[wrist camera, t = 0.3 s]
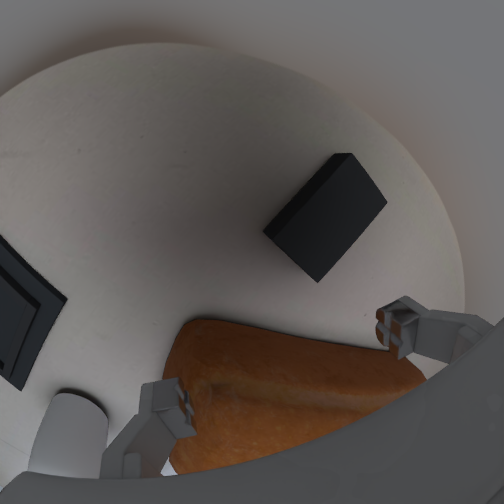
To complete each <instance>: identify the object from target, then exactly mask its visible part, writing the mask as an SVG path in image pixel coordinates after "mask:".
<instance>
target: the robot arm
mask: <svg viewBox="0 0 504 504" xmlns="http://www.w3.org/2000/svg"><path fill="white" fill-rule="evenodd" d="M376 318H377V319H378V320H379V321H378V323H377V325H376V335H377V338H378V340H379V342H380V343H381V344H382V345H383V346H387V347H389V352H390V353H392V354H393V355H394V356H395V357H396V358H397V359H398V360H399V359H401V358H403V357H405V356H407V355H408V354H410V353H412V352H414V353H417V354H420V355H423V356H426V357H429V358H432V359H435V360H438V361H442V362H445V363H448V364H449V365H448V366H446V367H445V368H444V369H442V370H441V371H439V372H438V373H437V374H435V375H434V376H432V377H431V378H429V379H428V380H426V381H425V382H423V383H422V384H420V385H419V386H417V387H416V388H414V389H413V390H411V391H409V392H408V393H406V394H405V395H403V396H401V397H400V398H398V399H396V400H395V401H393V402H391V403H389V404H388V405H386V406H384V407H382V408H380V409H379V410H377V411H375V412H373V413H371V414H369V415H367V416H365V417H363V418H361V419H359V420H357V421H355V422H353V423H351V424H349V425H347V426H345V427H342V428H340V429H338V430H336V431H333V432H331V433H329V434H326V435H324V436H321V437H319V438H317V439H314V440H311V441H309V442H306V443H304V444H301V445H298V446H295V447H292V448H290V449H287V450H284V451H281V452H277V453H274V454H271V455H268V456H264V457H261V458H257V459H254V460H250V461H246V462H242V463H238V464H234V465H230V466H225V467H221V468H216V469H211V470H205V471H199V472H193V473H187V474H180V475H171V476H163V475H162V474H161V473H160V472H161V470H162V468H163V467H164V465H165V463H166V461H167V459H168V457H169V455H170V453H171V451H172V449H173V447H174V445H175V444H176V442H177V440H176V439H181V438H186V437H191V436H195V435H198V434H197V426H196V421H195V419H194V418H193V416H194V414H195V408H194V404H193V401H192V398H191V396H190V394H189V392H188V391H186V390H184V383H183V381H182V379H181V378H180V377H175V378H170V379H165V380H160V381H155V382H150V383H145V384H143V385H142V386H141V394H140V403H139V413H138V414H137V415H134V417H133V418H132V419H131V420H130V421H129V423H128V424H127V425H126V426H125V427H124V429H123V430H122V431H121V432H120V433H119V435H118V436H117V437H116V438H115V439H114V440H113V442H112V443H111V444H110V445H109V446H108V448H107V449H106V450H105V451H104V452H103V453H102V459H101V467H100V475H99V479H92V478H76V477H65V476H56V475H48V474H42V473H37V472H31V471H24V472H22V473H20V474H19V475H18V476H16V477H15V478H14V479H13V480H12V481H11V482H10V483H9V484H8V485H6V486H5V487H4V488H3V490H2V491H1V492H0V504H504V318H503V319H502V320H501V321H500V322H499V323H497V324H496V325H495V326H493V325H491V324H490V323H488V322H487V321H485V320H484V319H482V318H480V317H479V316H477V315H471V314H463V313H455V312H447V311H440V310H430V311H429V310H428V309H426V308H425V307H423V306H422V305H420V304H419V303H417V302H416V301H414V300H413V299H411V298H410V297H408V296H403V297H401V298H399V299H397V300H396V301H394V302H392V303H389V304H387V305H385V306H383V307H381V308H379V309H377V311H376Z"/></svg>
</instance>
